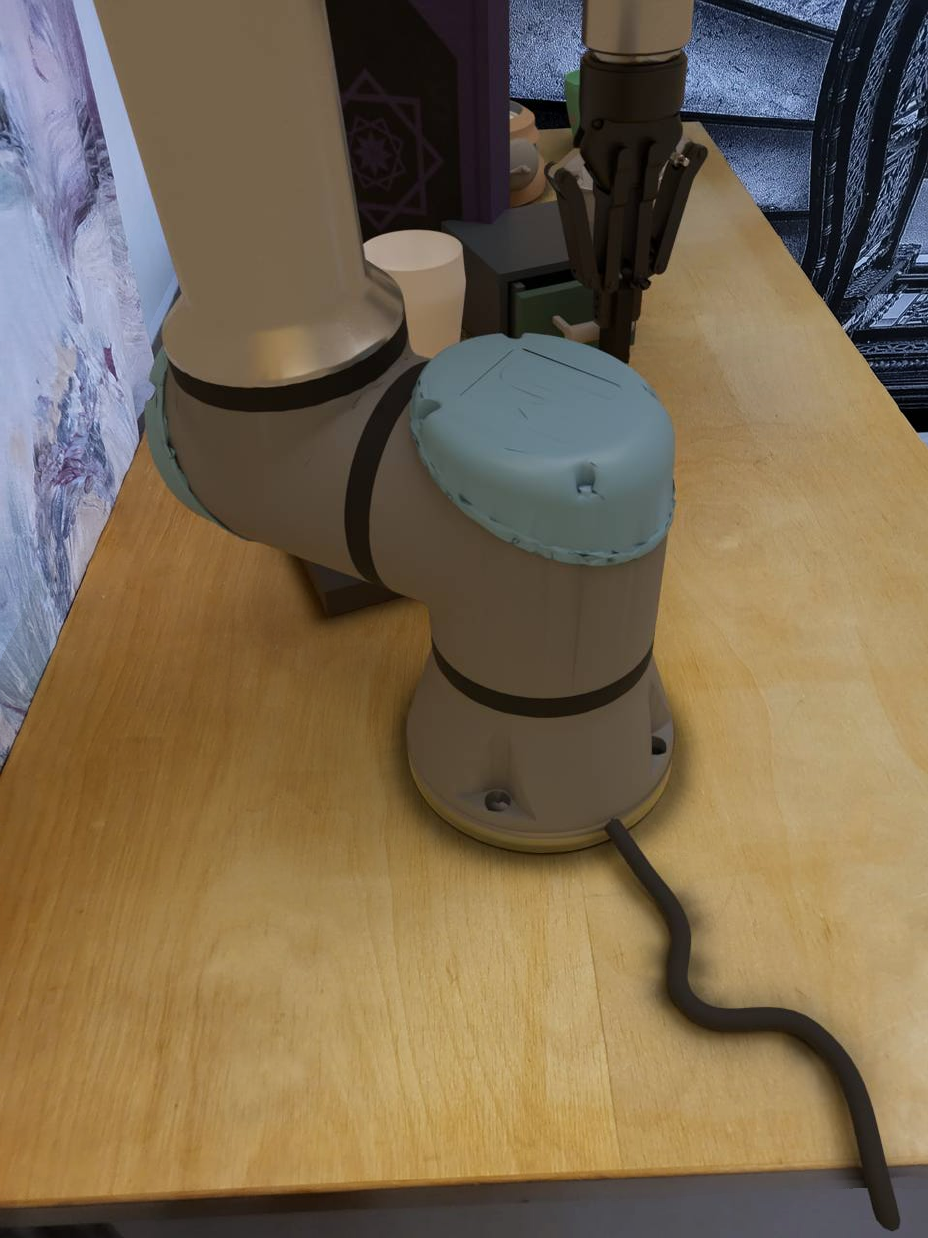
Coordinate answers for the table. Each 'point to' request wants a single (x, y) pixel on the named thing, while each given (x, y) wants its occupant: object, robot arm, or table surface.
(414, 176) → the book
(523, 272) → the cabinet
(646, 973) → the table surface
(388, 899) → the table surface
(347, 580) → the dark flat panel
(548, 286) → the drawer
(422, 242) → the cup
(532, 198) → the alarm clock
